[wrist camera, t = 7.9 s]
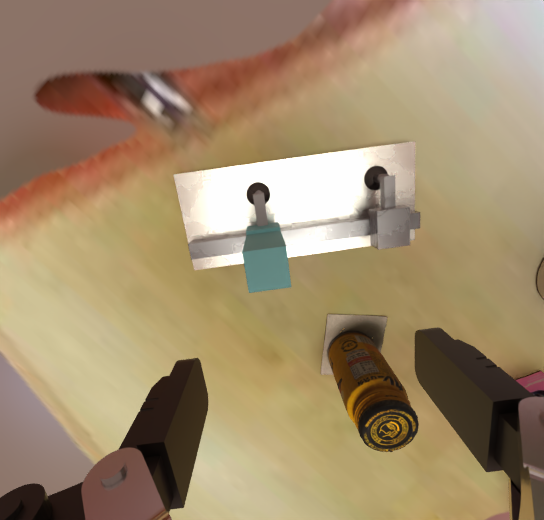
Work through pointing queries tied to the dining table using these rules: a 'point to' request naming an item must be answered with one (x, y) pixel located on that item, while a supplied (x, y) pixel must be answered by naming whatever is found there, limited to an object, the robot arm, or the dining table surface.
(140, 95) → the dining table surface
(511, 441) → the robot arm
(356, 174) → the hole plate
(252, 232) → the leg
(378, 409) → the condiment
